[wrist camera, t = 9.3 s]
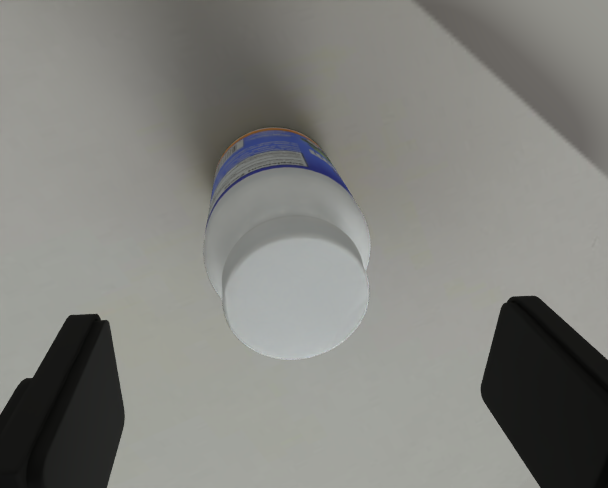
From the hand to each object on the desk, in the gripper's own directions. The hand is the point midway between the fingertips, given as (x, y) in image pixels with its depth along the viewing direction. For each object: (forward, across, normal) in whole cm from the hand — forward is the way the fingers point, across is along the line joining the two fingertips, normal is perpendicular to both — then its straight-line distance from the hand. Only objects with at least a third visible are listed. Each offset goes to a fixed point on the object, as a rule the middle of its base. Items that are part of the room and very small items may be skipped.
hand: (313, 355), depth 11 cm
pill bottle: (+12, 0, -1) cm, 12 cm away
